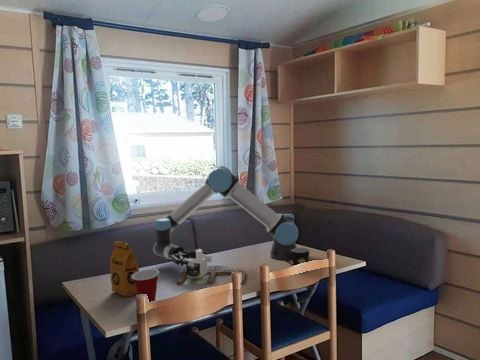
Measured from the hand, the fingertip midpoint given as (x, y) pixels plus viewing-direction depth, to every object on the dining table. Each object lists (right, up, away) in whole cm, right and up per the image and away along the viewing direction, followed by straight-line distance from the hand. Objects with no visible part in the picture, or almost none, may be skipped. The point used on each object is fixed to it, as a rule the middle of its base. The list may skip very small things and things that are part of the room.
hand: (202, 261), depth 188 cm
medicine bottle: (-3, -7, +4) cm, 9 cm away
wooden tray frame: (+4, -9, +4) cm, 10 cm away
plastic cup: (-20, -12, -22) cm, 32 cm away
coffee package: (-31, -12, -10) cm, 35 cm away
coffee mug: (+45, -7, +11) cm, 47 cm away
